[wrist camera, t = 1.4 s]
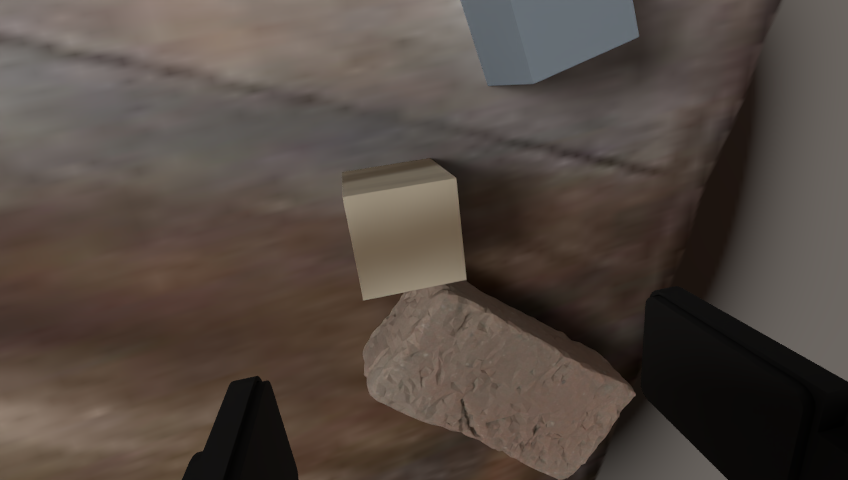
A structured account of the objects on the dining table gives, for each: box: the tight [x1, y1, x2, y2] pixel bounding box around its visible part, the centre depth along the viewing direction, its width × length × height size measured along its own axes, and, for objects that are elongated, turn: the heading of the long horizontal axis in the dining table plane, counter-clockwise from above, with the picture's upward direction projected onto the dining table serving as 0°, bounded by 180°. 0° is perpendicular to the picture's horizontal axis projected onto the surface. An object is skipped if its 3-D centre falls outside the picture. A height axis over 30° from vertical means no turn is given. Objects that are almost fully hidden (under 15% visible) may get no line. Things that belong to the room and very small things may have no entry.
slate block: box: [461, 0, 639, 86], centre depth 20 cm, size 5×5×6 cm
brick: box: [363, 280, 636, 480], centre depth 28 cm, size 17×8×5 cm, turn 57°
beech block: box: [342, 158, 467, 300], centre depth 22 cm, size 5×5×6 cm
